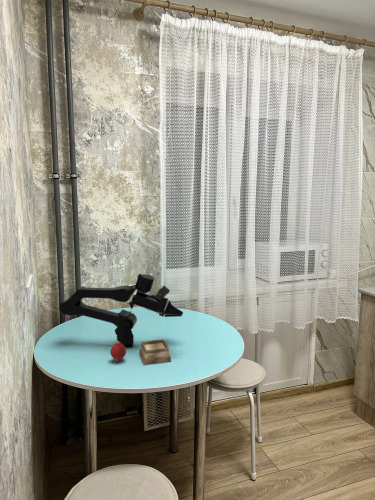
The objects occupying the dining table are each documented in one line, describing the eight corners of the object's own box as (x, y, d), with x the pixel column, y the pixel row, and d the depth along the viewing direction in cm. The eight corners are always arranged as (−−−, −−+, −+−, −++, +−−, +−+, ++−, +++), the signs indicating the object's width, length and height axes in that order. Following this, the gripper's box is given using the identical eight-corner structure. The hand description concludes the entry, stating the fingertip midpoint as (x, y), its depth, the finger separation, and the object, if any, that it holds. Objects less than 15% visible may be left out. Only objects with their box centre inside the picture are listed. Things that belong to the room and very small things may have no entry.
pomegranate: (119, 356, 148) (119, 336, 147) (129, 360, 144) (128, 340, 143) (107, 361, 143) (107, 341, 142) (117, 365, 140) (117, 345, 139)
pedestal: (143, 364, 140) (143, 351, 140) (139, 353, 150) (139, 341, 150) (170, 361, 143) (170, 348, 143) (164, 350, 153) (164, 338, 152)
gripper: (152, 279, 147) (190, 293, 147) (154, 286, 165) (187, 298, 165) (142, 306, 145) (180, 320, 144) (145, 310, 163) (179, 322, 162)
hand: (182, 314), depth 154 cm, fingers open, 9 cm apart
